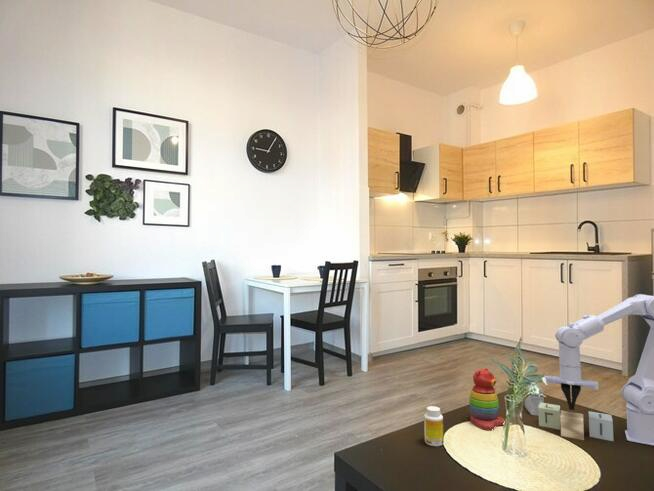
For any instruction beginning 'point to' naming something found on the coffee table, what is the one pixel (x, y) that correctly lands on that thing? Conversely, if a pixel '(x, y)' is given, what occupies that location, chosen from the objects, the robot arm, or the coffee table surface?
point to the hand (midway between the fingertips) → (571, 408)
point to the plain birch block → (572, 425)
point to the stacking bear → (484, 401)
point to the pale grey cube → (601, 426)
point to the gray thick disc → (533, 404)
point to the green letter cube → (549, 415)
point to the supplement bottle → (433, 426)
